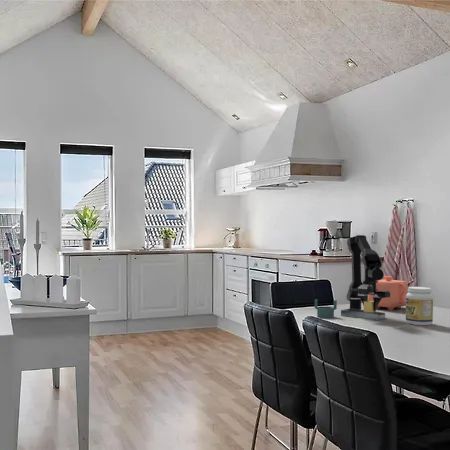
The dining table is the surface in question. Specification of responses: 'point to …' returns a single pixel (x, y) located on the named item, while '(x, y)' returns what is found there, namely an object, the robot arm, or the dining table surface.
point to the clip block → (369, 306)
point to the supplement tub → (419, 306)
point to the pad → (361, 320)
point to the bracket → (325, 310)
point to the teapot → (391, 293)
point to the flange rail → (362, 314)
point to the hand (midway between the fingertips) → (370, 310)
